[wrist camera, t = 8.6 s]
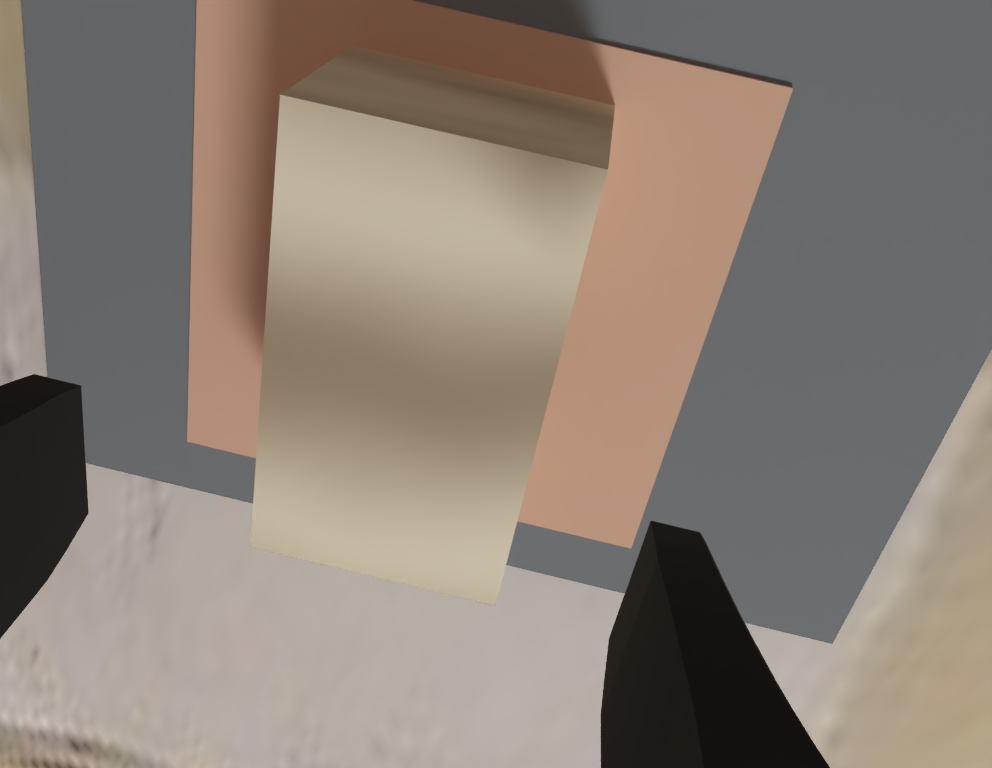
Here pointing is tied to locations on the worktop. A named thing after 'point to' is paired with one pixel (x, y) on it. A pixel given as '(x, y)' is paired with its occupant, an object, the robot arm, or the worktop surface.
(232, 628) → the worktop surface
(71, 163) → the mat
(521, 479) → the card box
